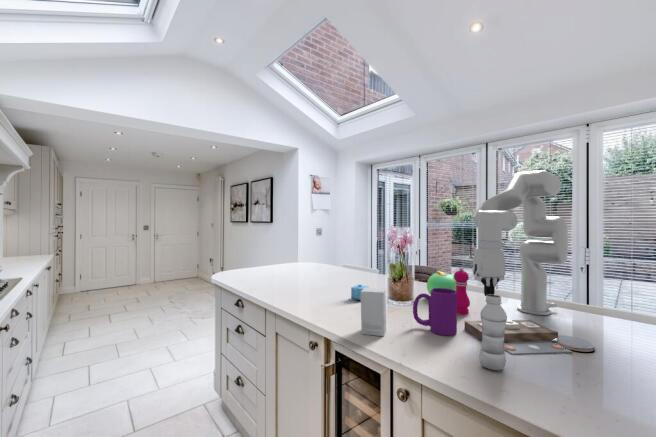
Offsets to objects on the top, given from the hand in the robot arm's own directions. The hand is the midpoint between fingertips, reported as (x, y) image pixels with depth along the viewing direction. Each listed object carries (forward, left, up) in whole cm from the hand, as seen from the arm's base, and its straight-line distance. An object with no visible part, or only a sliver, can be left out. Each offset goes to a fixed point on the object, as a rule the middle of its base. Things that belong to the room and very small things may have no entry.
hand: (489, 296), depth 111 cm
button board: (-7, +1, -14) cm, 15 cm away
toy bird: (-5, -45, -14) cm, 47 cm away
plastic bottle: (+14, +24, -14) cm, 31 cm away
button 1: (+1, +1, -13) cm, 13 cm away
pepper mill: (-3, -25, -14) cm, 29 cm away
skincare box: (+41, -4, -14) cm, 43 cm away
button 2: (-15, +1, -13) cm, 20 cm away
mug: (+18, -5, -14) cm, 23 cm away
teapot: (+38, -48, -14) cm, 63 cm away
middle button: (-7, +1, -12) cm, 14 cm away
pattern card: (-7, +13, -14) cm, 20 cm away
